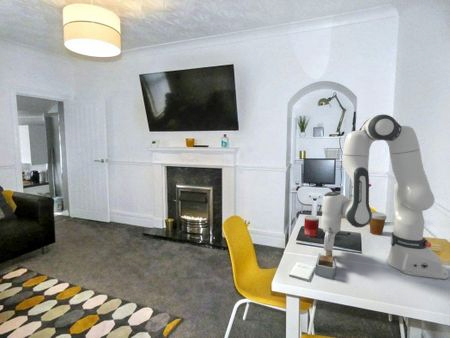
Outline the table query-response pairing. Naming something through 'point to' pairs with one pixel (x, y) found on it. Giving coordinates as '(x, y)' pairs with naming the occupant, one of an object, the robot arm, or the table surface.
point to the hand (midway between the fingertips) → (329, 252)
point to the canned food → (311, 226)
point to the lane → (325, 269)
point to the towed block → (327, 260)
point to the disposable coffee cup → (377, 223)
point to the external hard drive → (302, 271)
